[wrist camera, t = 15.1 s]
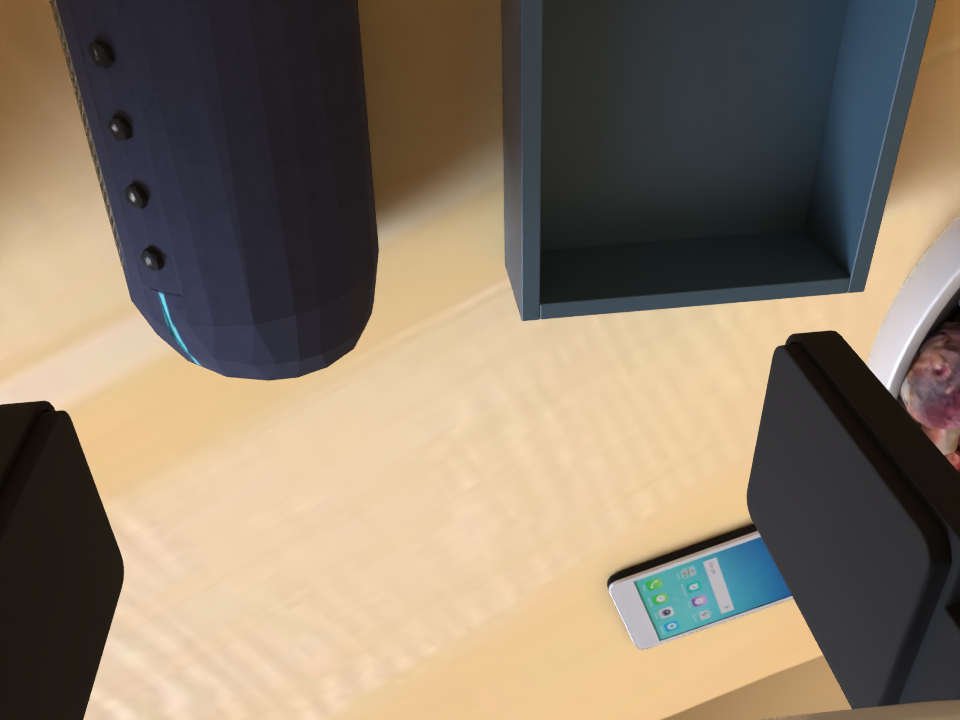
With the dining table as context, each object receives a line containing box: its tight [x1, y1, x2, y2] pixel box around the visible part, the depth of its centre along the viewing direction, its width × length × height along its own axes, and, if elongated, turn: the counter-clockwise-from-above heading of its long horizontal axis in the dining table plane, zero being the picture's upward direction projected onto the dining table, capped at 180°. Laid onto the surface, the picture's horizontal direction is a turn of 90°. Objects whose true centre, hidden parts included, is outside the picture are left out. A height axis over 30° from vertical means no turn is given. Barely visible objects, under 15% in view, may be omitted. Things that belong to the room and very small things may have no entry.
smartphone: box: [607, 524, 794, 649], centre depth 56 cm, size 8×1×15 cm
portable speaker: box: [50, 0, 379, 380], centre depth 31 cm, size 25×10×10 cm, turn 1°
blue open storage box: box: [501, 0, 936, 321], centre depth 37 cm, size 16×15×5 cm
